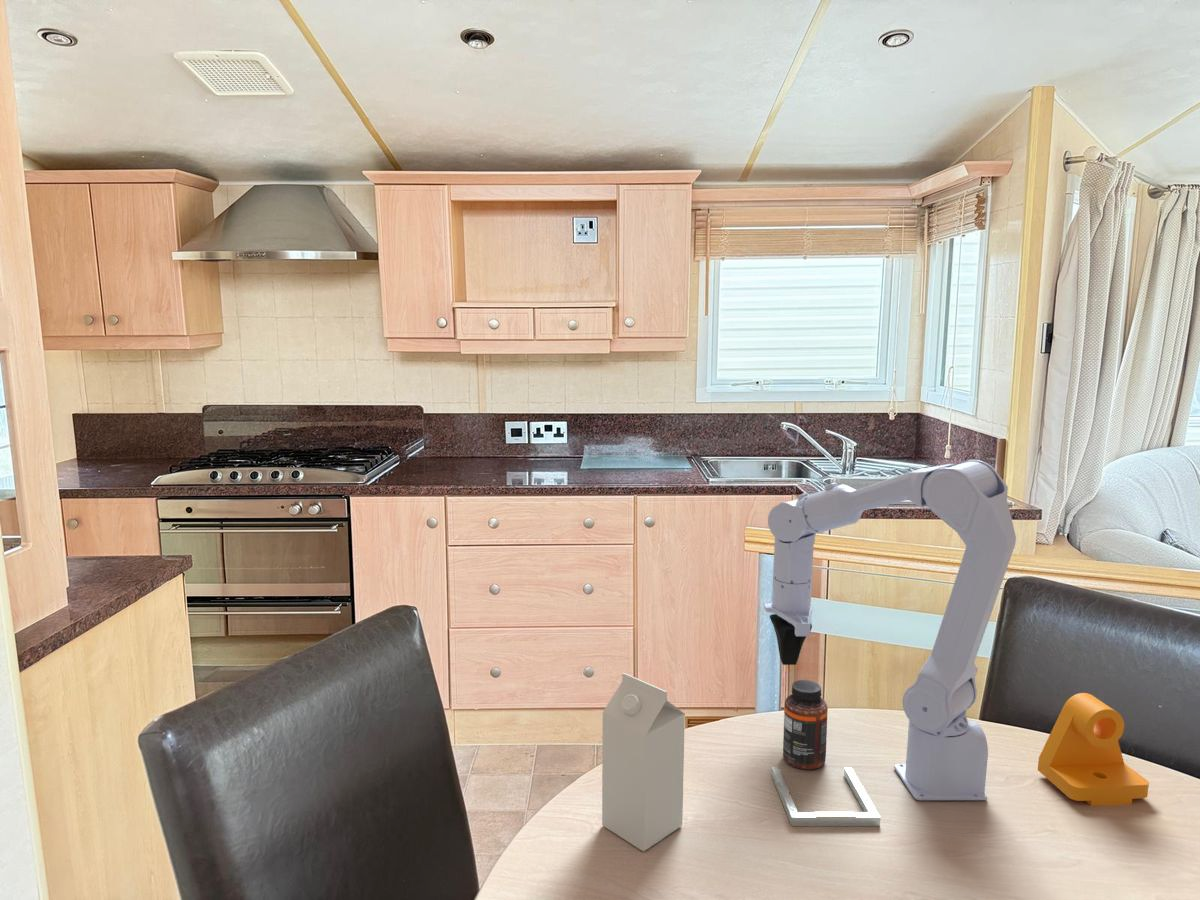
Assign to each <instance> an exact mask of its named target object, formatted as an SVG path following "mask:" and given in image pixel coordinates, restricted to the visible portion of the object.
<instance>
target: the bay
mask: <svg viewBox="0 0 1200 900" xmlns="http://www.w3.org/2000/svg"><path fill="white" fill-rule="evenodd" d="M843 777H844V779H845V780H846V782H847V784H848V786H849V787H850V789H851V791H852V793H853V794H854V796H855V798H856V801H857V802H858V804H859V805H860V807H861V809H862V811H863V812H862V811H861V812H857V811H856V812H855V811H813V812H811V811H810V812H808V811H807V812H806V811H804V812H798V809H797V806H796V805H795V802H794V800H793V797H792V795H791V793H790V790H789V788H788V785H787V784H786V780H785V778H784V776H783V774H782V772H781V769H780V767H771V778H772V781H773V783H774V785H775V788H776V791H777V792H778V796H779V798H780V801H781V803H782V806H783V809H784V811H785V813H786V816H787V818H788V821H789V824H790V825H791V827H880V826H881V815H880V814H879V812H878V811H877V809H876V807H875V805H874V804H873V802H872V800H871V798H870V796H869V795H868V794H867V791H866V789H865V787H864V786H863V785H862V783H861V782H860V780H859V777H858V776H857V775H856V772H855V771H854V769H853V768H852V767H844V771H843Z"/></svg>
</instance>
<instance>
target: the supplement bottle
mask: <svg viewBox="0 0 1200 900" xmlns="http://www.w3.org/2000/svg"><path fill="white" fill-rule="evenodd" d="M821 686H822V685H820V684H819V683H817V682H815V681H813V680H810V679H807V680H806V679H800V680H796V681H794V682H793V683H792V685H791V694H789V695H787V697H786V698H785V700H784V712H783V713H784V715H783V742H782V744H783V745H782V746H783V747H782V756H783V759H784V760H785V762H786V763H787V764H789V765H790V766H792V767H794V768H796V769H801V770H816V769H819V768H821V767H823V765H824V764H825V762H826V758H827V738H828V737H827V734H828V732H827V731H828V710H829V709H828V708H829V707H828V705H827V702H826V701H825V700H824V698H822V687H821Z"/></svg>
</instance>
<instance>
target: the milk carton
mask: <svg viewBox="0 0 1200 900" xmlns="http://www.w3.org/2000/svg"><path fill="white" fill-rule="evenodd" d="M621 678H622V679H621V682H620V684H619V685H618V687H617V689H616V690H615V692H614V693H613V695H612V696H611V698H610V700H609V701H608V703H607V704H606V706H605V708H604V709H603V711H602V745H601V746H602V752H601V753H602V758H601V759H602V760H601V761H602V763H601V764H602V768H601V769H602V775H601V776H602V777H601V781H602V782H601V783H602V785H601V787H602V788H601V792H602V794H601V795H602V797H601V798H602V799H601V806H602V807H601V814H602V815H601V823H602V826H603V827H604V828H606V829H608V830H609V831H611V833H614V834H615V835H617V836H618V837H620V838H621V839H623V840H624V841H626V842H628V843H630V844H631V845H633V846H634V847H635V848H637V849H638V850H640V851H642V852H646V851H647V850H648V849H650V848H651V847H653V846H654V845H656V844H657V843H659V842H660V841H662V840H663V839H664V838H666V837H667V836H669V835H671V834H672V833H673V832H675V831H676V830H677V829H679V828H681V827H682V826H683V813H684V812H683V811H684V810H683V809H684V807H683V806H684V805H683V804H684V771H685V770H684V763H685V761H684V759H685V758H684V757H685V756H684V755H685V725H686V724H685V723H686V722H685V719H686V718H685V717H686V716H685V713H684V712H683V711H682V710H680V709H679V708H678V707H676V706H675V705H674V704H672V703H671V702H670V701H668V691H667V690H665V689H662V688H661V687H660V688H659V687H658V686H656V685H653V684H650V683H649V682H646V681H644V680H642V679H640V678H637V677H636V676H635V677H634V676H632V675H630V674H628V673H625V672H622V674H621Z"/></svg>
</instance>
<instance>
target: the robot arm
mask: <svg viewBox="0 0 1200 900" xmlns="http://www.w3.org/2000/svg"><path fill="white" fill-rule="evenodd" d="M1008 493H1009V487H1008V485H1007V483H1006V482H1005V481H1004V480H1003V478H1002V477H1001V475H1000V474H999V473H998V472H997V470H996V469H995V468H994V466H992V465H990V463H988V462H985V461H982V460H980V459H968V460H965V461H962V462H960V463H959V464H956V465H955V463H947V464H941V465H935V466H930V467H925V468H920V469H919V468H918V469H915V470H912V471H909V472H906V473H903V474H900V475H896V476H894V477H890V478H888V479H885V480H881V481H878V482H876V483H874V484H870V485H867V486H864V487H861V488H858V489H855V488H854V487H851V486H850V485H848V484H839V485H838V483H837V482H831V483H829V484H826V485H824V490H821V491H817V492H813V493H812V494H811V493H810V494H808V492H804V493H801V494H797V498H796V499H792V500H789V501H781V502H779V503H778V504H776V505H775V506H774V507H772V509H771V510H770V511H769V513H768V517H767V525H768V529H769V531H770V532H771V535H773V536H774V547H773V574H772V597H771V602H770V603H769V602H768V603H764V605H763V609H764V610H765V612H767V613H773V614H770V615H769V619H770V622H772V626H773V628H774V632H775V636H776V640H777V641H776V642H777V646H778V647H777V648H778V655H779V659H780V662H781V664H782V665H785V666H786V665H787V666H796V665H797V663H798V660H799V658H800V653H801V650H802V647H803V644H804V642H805V640H806V638H807V637H810V636H811V631H812V628H813V625H812V623H811V622H810V621H811V616H812V613H813V610H812V609H813V607H812V605H811V604H812V585H813V567H814V566H813V565H814V544H815V540H816V535H817V534H821V533H824V532H829V531H831V530H835V529H839V528H842V527H846V526H850V525H855V524H856V523H857V522H859V520H860V518H861V517H862V515H863V513H864V511H869V510H872V509H876V508H877V509H878V508H880V507H884V506H888V505H892V504H893V505H894V504H896V503H901V502H904V501H910V502H912V503H913V504H914V505H916V506H917V507H921V508H922V507H926V506H927V507H928V509H929V510H930V511H931V512H933V513H934V515H936V516H937V517H938V518H939V519H940V520H941V521H942V522H943V523H946V524H947V525H948V526H949V527H950V528H951V529H952V530H953V531H954V532H956V533H957V535H958V536H959V537H960V539H961V540H962V542H963V543H964V545H965V549H964V553H963V556H962V559H961V563H960V566H959V567H958V571H957V574H956V577H955V580H954V582H953V586H952V589H951V593H950V596H949V599H948V601H947V604H946V608H945V611H944V614H943V617H942V619H941V624H940V626H939V629H938V631H937V635H936V638H935V641H934V645H933V647H932V651H931V653H930V655H929V657H928V658H927V659H926V661H925V663H924V664H923V666H922V668H921V669H920V671H919V672H918V675H917V678H916V680H915V682H914V683H913V684H912V685H911V686H909V687H907V689H906V690H905V692H904V693H903V696H902V700H901V701H902V708H903V711H904V714H905V715H906V718H907V719H908V730H907V731H908V732H907V741H906V743H907V744H906V759H905V763H895V764H894V765H893V768H894V771H896V773H897V774H898V776H899V777H900V779H901V780H902V782H903V783H904V784H905V786H906V788H907V789H908V791H909V792H910V793H911V795H912V796H913V798H914V799H915V800H917V801H987V800H988V795H987V794H986V792H985V791H986V780H987V779H986V778H987V769H988V757H989V748H988V741H987V737H986V734H985V732H984V730H983V728H982V726H981V724H979V722H977V721H973V720H968V717H967V710H968V709H970V708H971V707H972V706H973V705H974V704H975V702H976V700H977V696H978V691H977V686H976V685H977V684H976V675H977V673H978V667H977V665H976V664H975V661H976V658H977V656H978V653H979V649H980V647H981V643H982V640H983V638H984V636H985V633H986V629H987V627H988V624H989V621H990V618H991V615H992V612H993V609H994V607H995V604H996V601H997V597H998V595H999V592H1000V589H1001V587H1002V584H1003V581H1004V579H1005V575H1006V571H1007V569H1008V566H1009V563H1010V560H1011V558H1012V554H1013V552H1014V549H1015V547H1016V541H1017V536H1016V531H1015V527H1014V524H1013V519H1012V515H1011V511H1010V507H1009V503H1008V502H1009V501H1008Z"/></svg>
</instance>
